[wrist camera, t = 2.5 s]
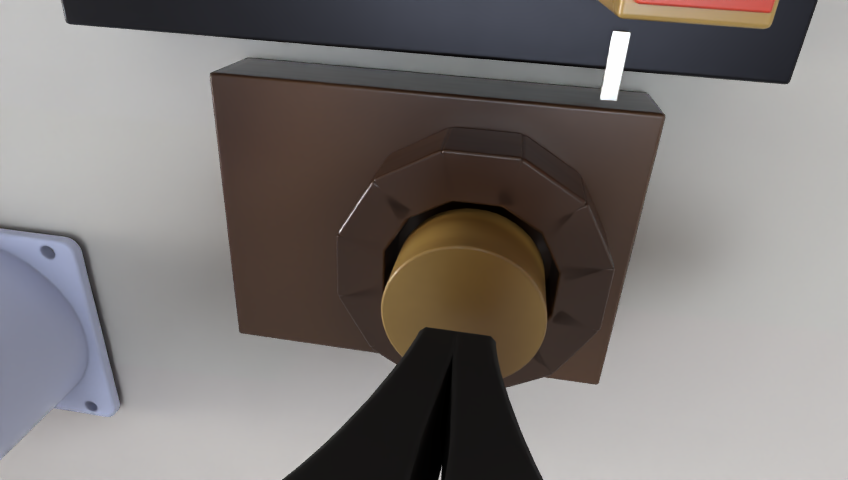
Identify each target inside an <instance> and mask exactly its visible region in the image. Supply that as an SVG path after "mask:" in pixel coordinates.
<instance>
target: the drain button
mask: <svg viewBox="0 0 848 480" xmlns="http://www.w3.org/2000/svg"><path fill="white" fill-rule="evenodd" d="M381 317H382V322H383V326H384V329H385V332H386V334H387V336H388V338H389V340H390V342H391V344H392V345H393V347H394V348H395V349H396V351H397V352H398V353H399V354H400V355H401V356H402V357H403V356H404V354H405V353H406V351H407V350H408V349H409V347H410V346H411V344H412V342H413V341H414V339H415V338H416V336H417V334H418V332H419V331H420V330H422V329H423V328H425V327H430V328H437V329H444V330H452V331H459V332H466V333H473V334H480V335H488V336H491V337H492V338H493V339H494V340H495V341H496V349H497V356H498V361H499V366H500V370H501V374H502V377H503V378H505V377H508V376H510V375H512V374H514V373H515V372H517V371H518V370H520V369H521V368H523V367H524V366H525V365H526V364H527V363H528V362H529V361H530V360H531V359H532V358H533V357H534V356H535V354H536V353H537V351H538V350H539V348H540V346H541V344H542V342H543V340H544V337H545V333H546V329H547V305H546V286H545V269H544V264H543V259H542V257H541V254H540V252H539V250H538V248H537V246H536V244H535V243H534V241H533V240H532V239H531V237H530V236H529V235H528V234H527V233H526V232H525V231H524V230H523V229H522V228H521V227H519V226H518V225H517V224H516V223H514V222H512V221H511V220H509V219H507V218H506V217H503V216H501V215H499V214H496V213H493V212H490V211H486V210H480V209H470V208H464V209H454V210H449V211H445V212H442V213H439V214H436V215H434V216H432V217H430V218H428V219H426V220H425V221H423V222H422V223H420V224H419V225H418V226H417V227H416V228H415V229H414V230H413V231H412V232H411V233H410V234H409V235H408V237H407V238H406V240H405V242H404V243H403V246H402V248H401V250H400V253H399V255H398V257H397V260H396V262H395V265H394V267H393V270H392V272H391V274H390V277H389V279H388V282H387V284H386V287H385V289H384V292H383V296H382V302H381Z"/></svg>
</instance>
